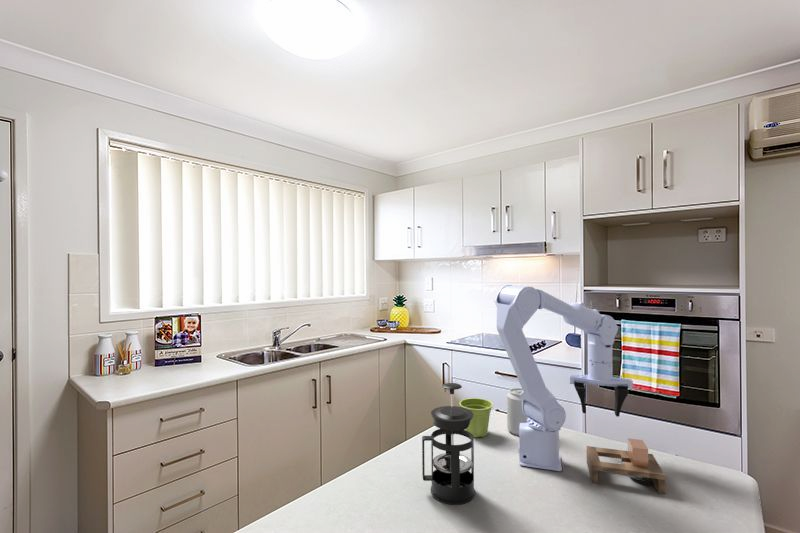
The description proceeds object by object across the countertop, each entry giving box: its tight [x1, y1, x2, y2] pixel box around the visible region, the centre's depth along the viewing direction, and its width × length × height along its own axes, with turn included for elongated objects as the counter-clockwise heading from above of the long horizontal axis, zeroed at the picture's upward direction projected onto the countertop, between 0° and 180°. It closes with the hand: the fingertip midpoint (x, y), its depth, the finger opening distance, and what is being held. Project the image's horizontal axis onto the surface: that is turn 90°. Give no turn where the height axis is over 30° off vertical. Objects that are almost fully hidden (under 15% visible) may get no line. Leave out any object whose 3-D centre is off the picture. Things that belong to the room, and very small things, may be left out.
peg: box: [627, 438, 649, 481], centre depth 91 cm, size 4×5×7 cm
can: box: [506, 387, 528, 437], centre depth 117 cm, size 8×8×12 cm
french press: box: [421, 382, 476, 506], centre depth 86 cm, size 12×9×23 cm
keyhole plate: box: [586, 445, 666, 495], centre depth 92 cm, size 14×10×4 cm
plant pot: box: [459, 397, 494, 438], centre depth 116 cm, size 9×9×9 cm
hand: (600, 413), depth 104 cm, fingers open, 7 cm apart
